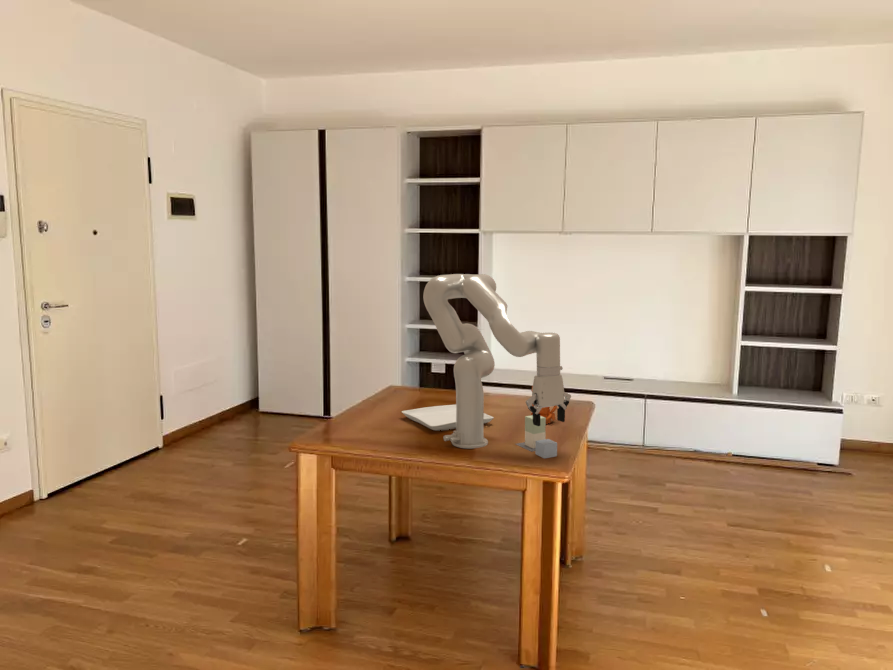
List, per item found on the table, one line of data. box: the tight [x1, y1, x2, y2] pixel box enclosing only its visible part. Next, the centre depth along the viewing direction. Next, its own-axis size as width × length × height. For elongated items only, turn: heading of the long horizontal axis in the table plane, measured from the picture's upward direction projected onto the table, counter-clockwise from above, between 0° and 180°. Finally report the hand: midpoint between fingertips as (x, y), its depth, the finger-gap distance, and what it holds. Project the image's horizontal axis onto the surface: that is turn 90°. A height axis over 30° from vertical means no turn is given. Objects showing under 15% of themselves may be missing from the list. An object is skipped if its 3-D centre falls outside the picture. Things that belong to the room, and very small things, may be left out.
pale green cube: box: [524, 414, 547, 434], centre depth 238 cm, size 5×5×5 cm
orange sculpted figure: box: [530, 385, 558, 425], centre depth 270 cm, size 11×11×18 cm
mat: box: [515, 441, 536, 453], centre depth 239 cm, size 10×10×1 cm
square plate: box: [400, 403, 495, 431], centre depth 272 cm, size 27×27×4 cm
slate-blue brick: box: [534, 438, 558, 459], centre depth 228 cm, size 5×5×5 cm
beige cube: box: [524, 430, 546, 448], centre depth 239 cm, size 5×5×5 cm
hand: (549, 423), depth 227 cm, fingers open, 9 cm apart
